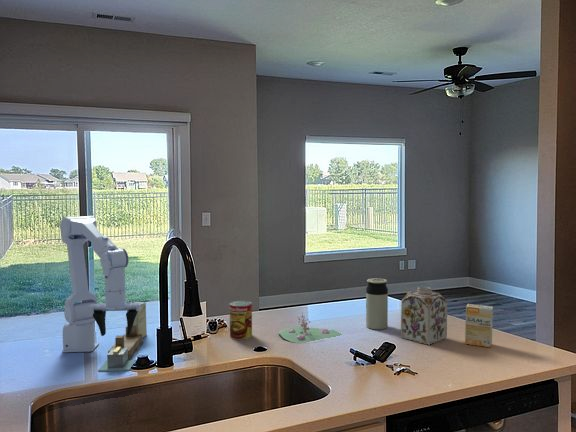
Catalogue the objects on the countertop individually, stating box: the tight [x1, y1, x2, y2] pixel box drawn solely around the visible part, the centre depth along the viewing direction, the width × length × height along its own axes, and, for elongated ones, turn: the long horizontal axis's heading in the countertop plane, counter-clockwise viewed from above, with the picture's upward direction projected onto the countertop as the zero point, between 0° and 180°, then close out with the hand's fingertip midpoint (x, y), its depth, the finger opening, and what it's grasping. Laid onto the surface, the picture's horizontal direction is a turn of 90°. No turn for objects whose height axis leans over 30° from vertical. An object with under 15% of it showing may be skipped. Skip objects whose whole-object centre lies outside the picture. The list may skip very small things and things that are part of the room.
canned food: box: [229, 300, 253, 340], centre depth 176 cm, size 8×8×12 cm
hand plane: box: [107, 326, 144, 360], centre depth 161 cm, size 17×7×7 cm, turn 4°
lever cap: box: [106, 347, 128, 368], centre depth 148 cm, size 4×6×5 cm
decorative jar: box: [400, 286, 448, 346], centre depth 172 cm, size 12×12×18 cm
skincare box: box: [126, 301, 148, 339], centre depth 176 cm, size 6×4×12 cm
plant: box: [277, 312, 342, 344], centre depth 178 cm, size 25×21×9 cm
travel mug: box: [365, 277, 389, 331], centre depth 186 cm, size 8×8×18 cm
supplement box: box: [464, 303, 494, 348], centre depth 165 cm, size 8×5×13 cm, turn 62°
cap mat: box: [97, 359, 137, 373], centre depth 148 cm, size 9×8×1 cm
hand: (116, 334), depth 148 cm, fingers open, 7 cm apart
